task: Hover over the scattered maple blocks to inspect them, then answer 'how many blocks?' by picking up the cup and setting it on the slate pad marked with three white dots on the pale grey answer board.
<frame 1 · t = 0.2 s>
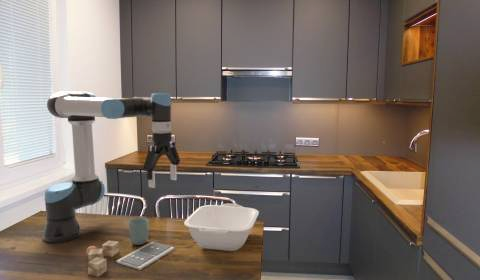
hand: (163, 183, 146), 28 cm above the table, fingers open, 13 cm apart
block b: (97, 260, 129), point 4 cm above the table, tilted 180°
baking dish: (223, 244, 154), on the table
block a: (110, 253, 145), on the table
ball: (92, 255, 143), on the table
block c: (96, 262, 137), on the table
answer board: (146, 255, 143), on the table
cup: (139, 243, 155), on the table
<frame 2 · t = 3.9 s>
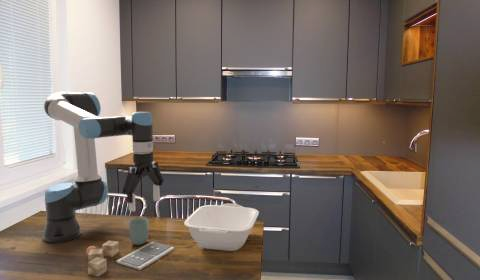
hand: (144, 205, 140), 21 cm above the table, fingers open, 13 cm apart
nothing on the table moved.
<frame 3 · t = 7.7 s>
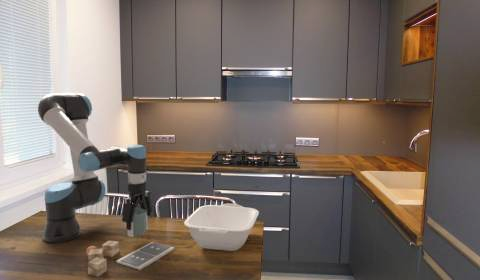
hand: (137, 232, 154), 5 cm above the table, fingers closed on cup, 8 cm apart
cup: (137, 234, 154), point 4 cm above the table, touching gripper
everything else where it was.
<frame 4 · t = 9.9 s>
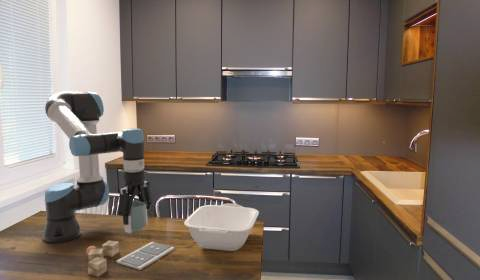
hand: (136, 228, 137), 13 cm above the table, fingers closed on cup, 8 cm apart
cup: (136, 229, 137), point 13 cm above the table, touching gripper
everything else where it was.
when the fingers open (2 cm above the table, at t = 12.2 s): cup stays where it is, resting on answer board.
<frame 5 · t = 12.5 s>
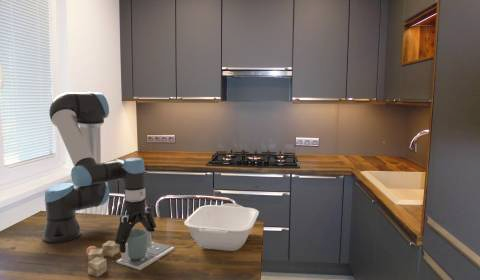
hand: (137, 253, 138), 3 cm above the table, fingers open, 12 cm apart
cup: (137, 258, 138), point 1 cm above the table, touching answer board
everything else where it was.
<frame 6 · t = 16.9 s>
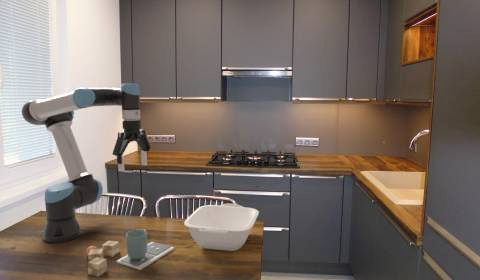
hand: (133, 168, 157), 32 cm above the table, fingers open, 13 cm apart
nothing on the table moved.
at the end: cup inside the target area (0.1 cm from its centre), point 1.1 cm above the table; cup tilted 0°; the gripper is holding nothing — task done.
